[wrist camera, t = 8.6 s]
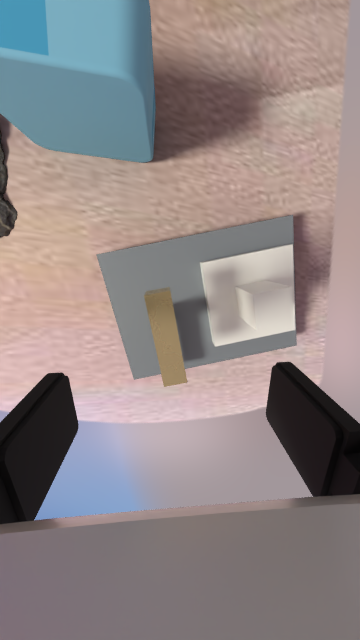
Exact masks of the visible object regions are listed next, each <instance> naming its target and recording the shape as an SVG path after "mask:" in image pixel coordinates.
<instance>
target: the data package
mask: <svg viewBox="0 0 360 640" xmlns="http://www.w3.org/2000/svg"><path fill="white" fill-rule="evenodd" d="M155 111H156V105H155V88H154V70H153V52H152V34H151V16H150V5H149V0H0V114H2V115H3V116H4V117H5V118H6V119H7V120H8V121H10V122H11V123H12V124H13V125H14V126H15V127H17V128H18V129H19V130H20V131H21V132H22V133H23V134H25V135H26V136H27V137H28V138H29V139H30V140H31V141H33V142H34V143H35V144H37V145H39V146H41V147H44V148H46V149H50V150H54V151H61V152H68V153H75V154H82V155H90V156H97V157H104V158H111V159H119V160H126V161H133V162H149V161H151V160H152V159H153V153H154V132H155Z"/></svg>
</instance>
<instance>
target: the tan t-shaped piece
mask: <svg viewBox="0 0 360 640" xmlns="http://www.w3.org/2000/svg"><path fill="white" fill-rule="evenodd" d="M144 299H145V303H146V308H147V312H148V317H149V321H150V325H151V330H152V334H153V339H154V343H155V348H156V352H157V357H158V361H159V366H160V370H161V375H162V379H163V384H164V387H166V386H171V385H176V384H181V383H187V379H186V373H185V368H184V362H183V357H182V351H181V346H180V341H179V335H178V330H177V324H176V319H175V313H174V308H173V302H172V297H171V291H170V287H167V288H161V289H156V290H150V291H146V292H145V294H144Z"/></svg>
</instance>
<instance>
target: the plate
mask: <svg viewBox="0 0 360 640" xmlns="http://www.w3.org/2000/svg"><path fill="white" fill-rule="evenodd" d="M291 244H293V264H294V233H293V215H290V216H285V217H280V218H275V219H270V220H265V221H260V222H255V223H250V224H245V225H240V226H235V227H231V228H226V229H221V230H216V231H211V232H206V233H201V234H196V235H191V236H186V237H181V238H176V239H171V240H166V241H162V242H157V243H152V244H147V245H142V246H137V247H132V248H127V249H122V250H117V251H112V252H107V253H102V254H97V258H98V261H99V265H100V268H101V271H102V275H103V278H104V281H105V285H106V288H107V291H108V295H109V298H110V301H111V304H112V308H113V311H114V314H115V318H116V321H117V324H118V328H119V331H120V334H121V338H122V341H123V344H124V348H125V351H126V354H127V358H128V361H129V364H130V368H131V371H132V374H133V378H134V380H135V379H139V378H144V377H149V376H154V375H158V374H161V370H160V366H159V361H158V357H157V352H156V348H155V343H154V339H153V334H152V330H151V325H150V321H149V317H148V312H147V308H146V303H145V299H144V294H145V292H146V291H150V290H156V289H161V288H167V287H170V291H171V297H172V302H173V308H174V313H175V319H176V324H177V330H178V335H179V341H180V346H181V351H182V357H183V362H184V368H185V369H187V368H192V367H196V366H201V365H206V364H211V363H215V362H220V361H225V360H230V359H234V358H239V357H244V356H248V355H253V354H258V353H263V352H267V351H272V350H277V349H282V348H286V347H291V346H296V345H297V342H296V306H295V330H293V331H288V332H283V333H278V334H273V335H269V336H264V337H259V338H254V339H250V340H245V341H240V342H235V343H231V344H226V345H221V346H216V347H215V346H214V344H213V342H212V336H211V330H210V323H209V317H208V311H207V304H206V298H205V292H204V286H203V279H202V273H201V267H200V262H205V261H210V260H214V259H219V258H224V257H229V256H234V255H239V254H244V253H249V252H254V251H258V250H263V249H268V248H273V247H278V246H283V245H291ZM294 299H295V269H294Z"/></svg>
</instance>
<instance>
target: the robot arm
mask: <svg viewBox="0 0 360 640" xmlns="http://www.w3.org/2000/svg"><path fill="white" fill-rule="evenodd" d="M266 417H267V420H268V422H269V423H270V425H271V427H272V428H273V430H274V432H275V433H276V435H277V437H278V439H279V440H280V442H281V444H282V445H283V447H284V448H285V450H286V452H287V454H288V455H289V457H290V459H291V460H292V462H293V464H294V465H295V467H296V469H297V470H298V472H299V474H300V475H301V477H302V479H303V480H304V482H305V484H306V485H307V487H308V489H309V490H310V492H311V494H312V495H313V497H305V498H292V499H279V500H266V501H253V502H240V503H228V504H215V505H204V506H192V507H180V508H167V509H155V510H144V511H132V512H121V513H111V514H99V515H88V516H76V517H65V518H54V519H44V520H35V521H34V519H35V517H36V515H37V513H38V511H39V509H40V507H41V505H42V503H43V501H44V499H45V497H46V495H47V493H48V491H49V489H50V487H51V485H52V482H53V480H54V478H55V476H56V474H57V472H58V470H59V468H60V466H61V464H62V462H63V460H64V457H65V456H66V454H67V452H68V450H69V448H70V446H71V444H72V442H73V439H74V437H75V435H76V433H77V431H78V420H77V416H76V411H75V406H74V401H73V397H72V392H71V387H70V382H69V378H68V376H65V375H64V374H63V373H48V374H47V375H46V376H45V377H44V378H43V379H42V380H41V381H40V382H39V383H38V384H37V385H36V386H35V387H34V388H33V389H32V390H31V391H30V392H29V393H28V394H27V395H26V396H25V397H24V398H23V399H22V401H21V402H20V403H19V404H18V405H17V406H16V407H15V408H14V409H13V410H12V411H11V412H10V413H9V414H8V415H7V416H6V417H5V418H4V419H3V420H2V421H1V422H0V640H360V424H359V423H358V422H357V421H356V420H355V419H353V417H351V416H350V415H349V414H348V413H347V412H346V411H345V410H344V409H343V408H341V407H340V406H339V405H338V404H337V403H336V402H335V401H334V400H333V399H331V398H330V397H329V396H328V395H327V394H326V393H325V392H324V391H322V390H321V389H320V388H319V387H318V386H317V385H316V384H315V383H314V382H312V381H311V380H310V379H309V378H308V377H307V376H306V375H305V374H304V373H302V372H301V371H300V370H299V369H298V368H297V367H296V366H295V365H293V364H292V363H291V362H278V363H276V365H275V366H273V367H272V372H271V380H270V387H269V394H268V401H267V408H266Z"/></svg>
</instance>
